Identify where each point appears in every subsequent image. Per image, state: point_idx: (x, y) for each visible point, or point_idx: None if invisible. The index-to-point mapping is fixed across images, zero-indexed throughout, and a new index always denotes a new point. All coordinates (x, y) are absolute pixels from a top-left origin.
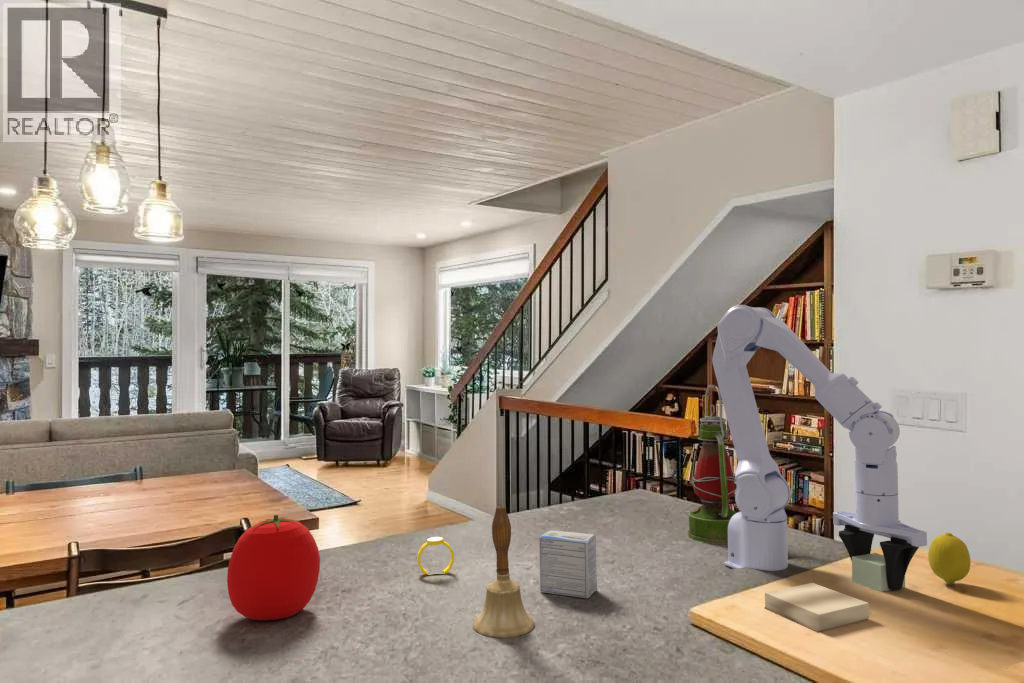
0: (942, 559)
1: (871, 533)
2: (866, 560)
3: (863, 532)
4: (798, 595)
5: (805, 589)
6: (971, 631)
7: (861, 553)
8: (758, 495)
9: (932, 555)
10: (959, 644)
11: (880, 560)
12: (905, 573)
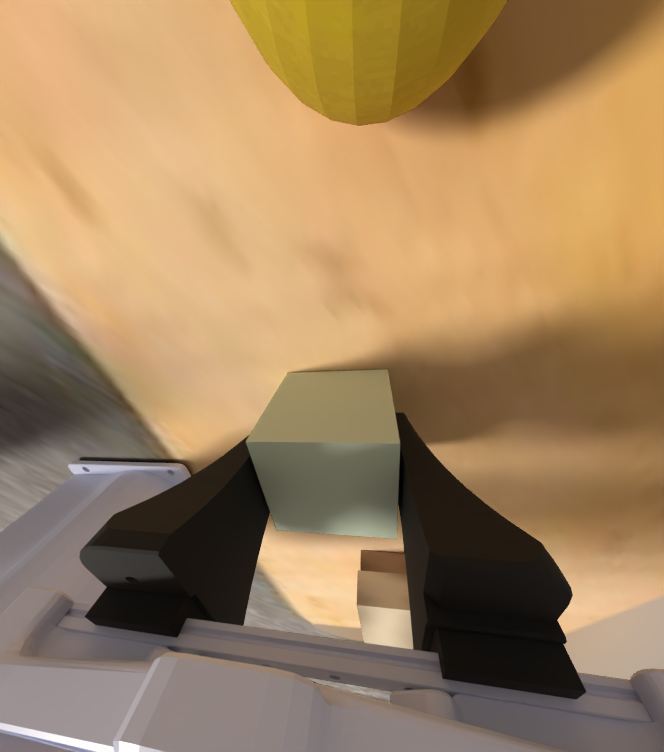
0: (427, 76)
1: (188, 546)
2: (326, 527)
3: (205, 599)
4: (400, 642)
5: (382, 626)
6: (655, 440)
7: (258, 500)
8: None
9: (329, 83)
10: (650, 511)
11: (345, 499)
12: (421, 440)
